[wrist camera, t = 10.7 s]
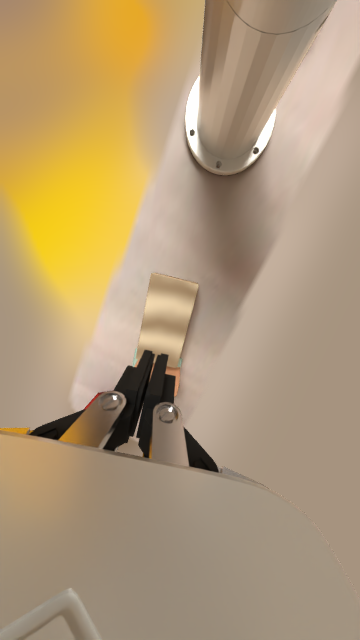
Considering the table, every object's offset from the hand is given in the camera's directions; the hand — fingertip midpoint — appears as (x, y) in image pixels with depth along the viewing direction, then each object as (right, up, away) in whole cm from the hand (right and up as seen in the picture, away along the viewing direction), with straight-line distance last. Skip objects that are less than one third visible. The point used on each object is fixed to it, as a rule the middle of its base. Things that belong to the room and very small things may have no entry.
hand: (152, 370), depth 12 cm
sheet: (-1, +4, +23) cm, 23 cm away
